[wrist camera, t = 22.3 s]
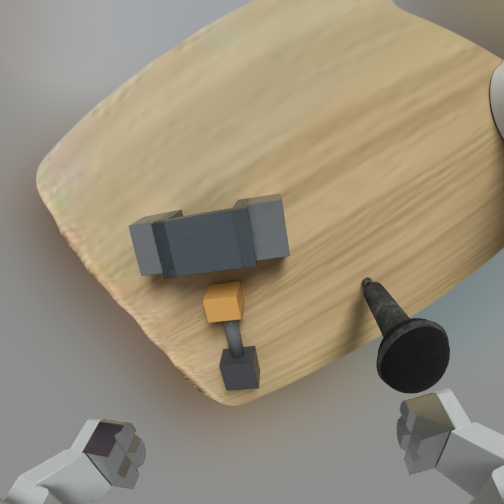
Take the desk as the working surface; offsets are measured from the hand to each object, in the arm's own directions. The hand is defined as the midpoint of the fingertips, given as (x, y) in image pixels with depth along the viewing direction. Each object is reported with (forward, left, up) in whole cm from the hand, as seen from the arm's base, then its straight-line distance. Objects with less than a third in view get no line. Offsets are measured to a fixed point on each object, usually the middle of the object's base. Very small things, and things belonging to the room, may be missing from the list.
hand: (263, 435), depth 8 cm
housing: (+7, 0, -31) cm, 32 cm away
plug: (+7, +15, -31) cm, 35 cm away
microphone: (-11, +10, -31) cm, 35 cm away
